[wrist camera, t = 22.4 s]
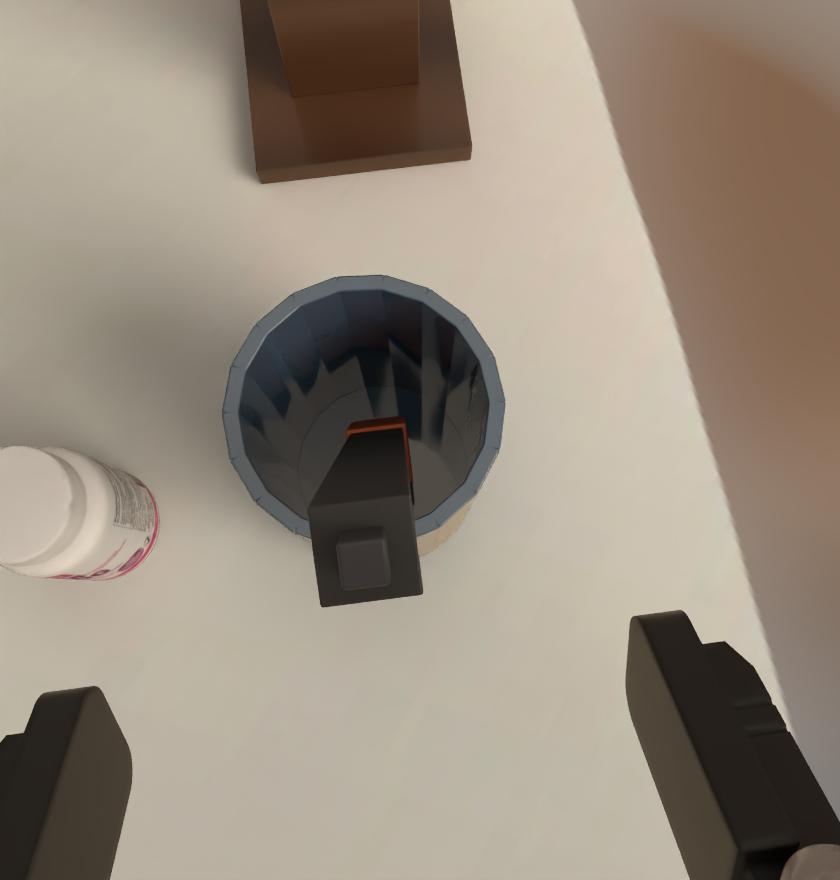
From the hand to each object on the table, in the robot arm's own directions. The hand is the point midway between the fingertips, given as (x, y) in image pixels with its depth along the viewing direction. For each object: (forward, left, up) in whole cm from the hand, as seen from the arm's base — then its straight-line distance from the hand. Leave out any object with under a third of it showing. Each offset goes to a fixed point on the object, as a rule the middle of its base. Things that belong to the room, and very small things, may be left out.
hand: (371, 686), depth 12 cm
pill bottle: (-13, +3, -22) cm, 26 cm away
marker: (-1, +5, -12) cm, 13 cm away
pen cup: (-2, +7, -22) cm, 23 cm away
